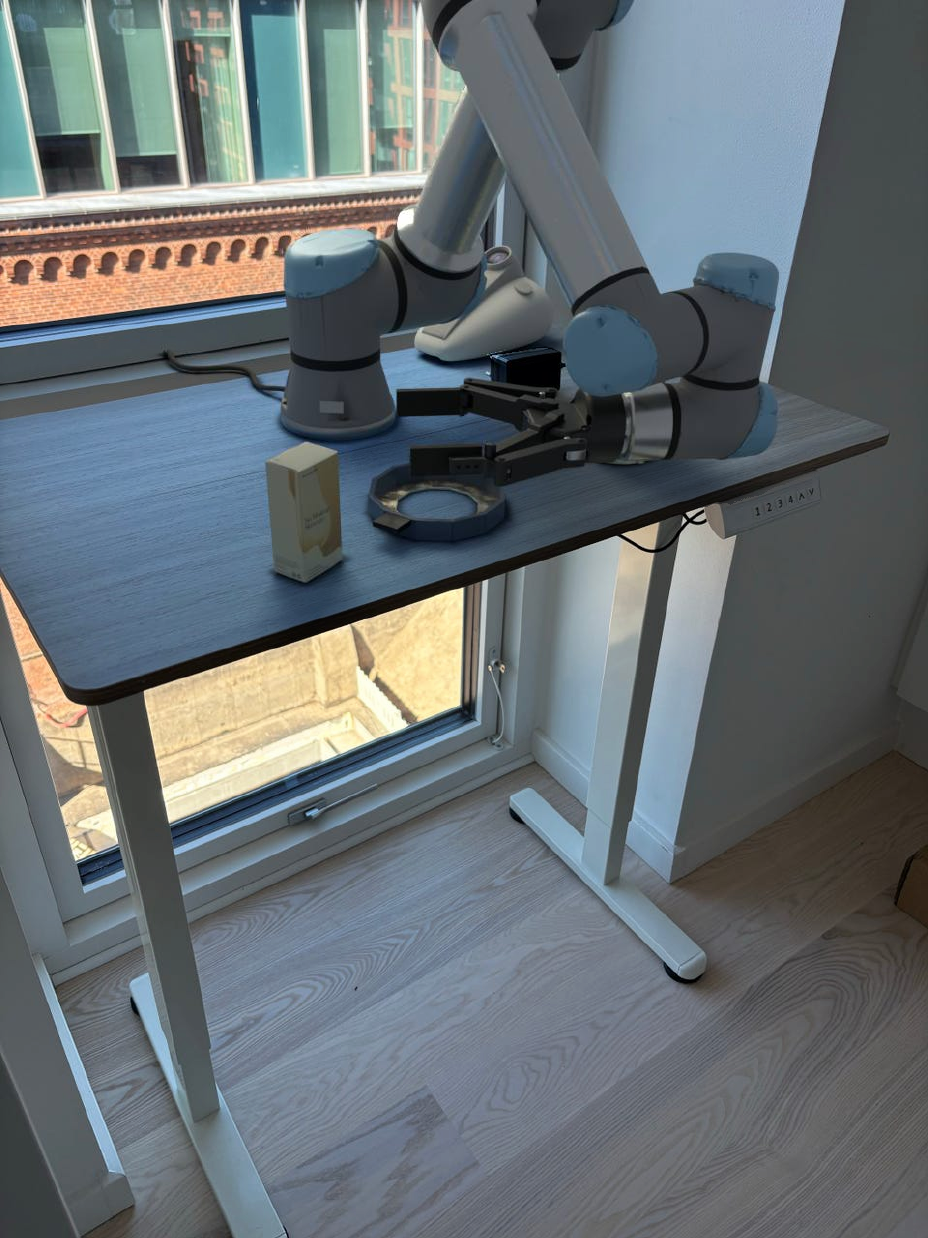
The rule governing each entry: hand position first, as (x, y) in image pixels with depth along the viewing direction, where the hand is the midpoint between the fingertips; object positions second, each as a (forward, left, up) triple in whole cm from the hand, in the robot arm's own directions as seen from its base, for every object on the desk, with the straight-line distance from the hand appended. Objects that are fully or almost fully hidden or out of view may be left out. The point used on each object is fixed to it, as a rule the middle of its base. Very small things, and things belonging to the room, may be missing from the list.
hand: (402, 430), depth 93 cm
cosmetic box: (-7, -6, -15) cm, 17 cm away
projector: (-28, +63, -15) cm, 70 cm away
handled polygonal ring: (-3, +12, -14) cm, 19 cm away
